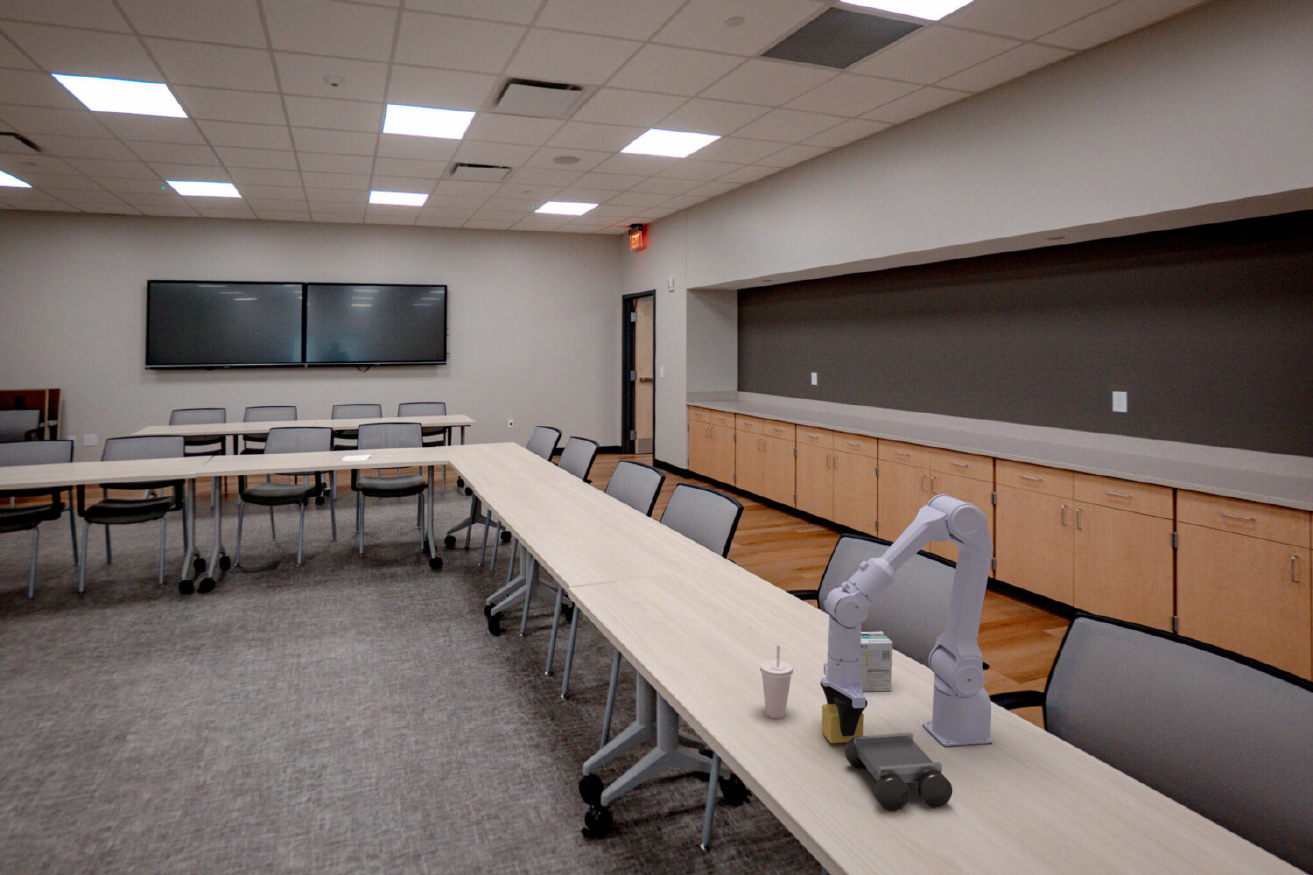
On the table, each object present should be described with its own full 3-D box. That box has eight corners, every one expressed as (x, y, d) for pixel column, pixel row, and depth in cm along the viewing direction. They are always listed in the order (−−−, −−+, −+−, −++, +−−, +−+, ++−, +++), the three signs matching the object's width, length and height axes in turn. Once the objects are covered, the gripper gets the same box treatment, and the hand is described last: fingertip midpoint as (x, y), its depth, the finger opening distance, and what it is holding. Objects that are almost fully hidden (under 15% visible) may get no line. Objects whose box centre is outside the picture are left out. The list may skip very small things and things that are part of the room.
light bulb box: (881, 678, 158) (883, 630, 157) (892, 692, 151) (894, 642, 150) (832, 678, 158) (833, 630, 157) (841, 692, 151) (842, 642, 150)
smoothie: (767, 723, 138) (768, 652, 136) (753, 708, 144) (755, 639, 142) (798, 719, 139) (799, 648, 138) (783, 704, 146) (785, 636, 144)
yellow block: (852, 728, 135) (853, 702, 134) (862, 740, 130) (863, 714, 130) (821, 730, 134) (822, 704, 133) (830, 743, 129) (831, 716, 129)
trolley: (910, 760, 125) (911, 727, 124) (951, 806, 112) (953, 769, 111) (843, 765, 123) (844, 732, 123) (877, 812, 110) (879, 775, 110)
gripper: (808, 641, 137) (807, 710, 138) (838, 673, 123) (836, 750, 124) (844, 639, 138) (842, 708, 139) (877, 671, 124) (875, 747, 125)
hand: (842, 727), depth 132 cm, fingers closed on yellow block, 4 cm apart
